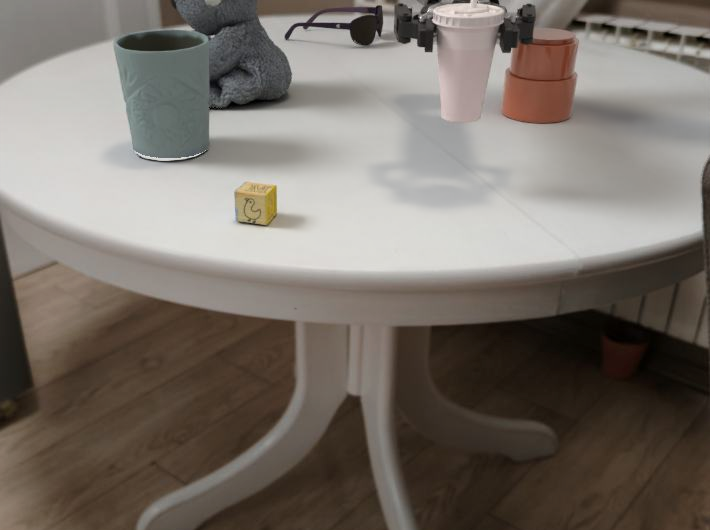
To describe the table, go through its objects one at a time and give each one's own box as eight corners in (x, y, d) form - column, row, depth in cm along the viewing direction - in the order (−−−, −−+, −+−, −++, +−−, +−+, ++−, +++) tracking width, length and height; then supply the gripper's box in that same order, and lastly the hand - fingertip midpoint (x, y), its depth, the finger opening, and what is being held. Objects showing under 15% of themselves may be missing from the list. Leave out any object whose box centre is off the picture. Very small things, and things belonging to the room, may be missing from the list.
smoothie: (508, 118, 77) (526, -44, 69) (458, 132, 74) (470, -36, 66) (462, 102, 81) (474, -51, 73) (413, 115, 78) (420, -44, 70)
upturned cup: (533, 99, 108) (544, 23, 103) (586, 115, 102) (599, 35, 97) (486, 110, 104) (494, 31, 98) (537, 127, 98) (549, 45, 92)
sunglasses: (365, 50, 132) (366, 18, 129) (277, 43, 136) (276, 11, 134) (390, 33, 142) (391, 3, 140) (307, 27, 147) (306, -3, 144)
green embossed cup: (172, 129, 97) (161, 25, 91) (236, 145, 92) (229, 36, 86) (108, 153, 90) (91, 41, 84) (174, 171, 86) (161, 54, 79)
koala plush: (187, 75, 119) (174, -74, 108) (306, 81, 116) (304, -71, 105) (142, 109, 105) (121, -58, 94) (276, 117, 101) (270, -55, 91)
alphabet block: (247, 210, 77) (245, 179, 75) (278, 213, 76) (276, 183, 74) (235, 222, 74) (233, 191, 73) (266, 226, 74) (265, 195, 72)
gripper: (393, -34, 84) (388, -5, 70) (533, -34, 83) (557, -5, 69) (390, 41, 88) (386, 83, 74) (524, 42, 87) (545, 84, 73)
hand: (468, 40), depth 71 cm, fingers closed on smoothie, 6 cm apart
